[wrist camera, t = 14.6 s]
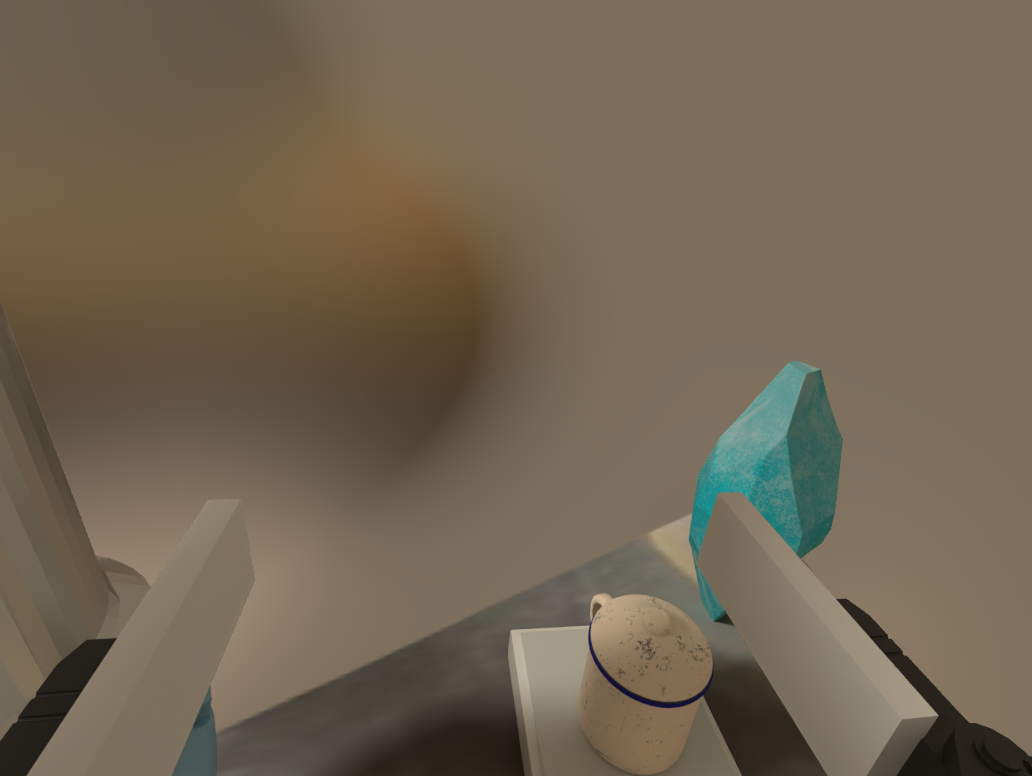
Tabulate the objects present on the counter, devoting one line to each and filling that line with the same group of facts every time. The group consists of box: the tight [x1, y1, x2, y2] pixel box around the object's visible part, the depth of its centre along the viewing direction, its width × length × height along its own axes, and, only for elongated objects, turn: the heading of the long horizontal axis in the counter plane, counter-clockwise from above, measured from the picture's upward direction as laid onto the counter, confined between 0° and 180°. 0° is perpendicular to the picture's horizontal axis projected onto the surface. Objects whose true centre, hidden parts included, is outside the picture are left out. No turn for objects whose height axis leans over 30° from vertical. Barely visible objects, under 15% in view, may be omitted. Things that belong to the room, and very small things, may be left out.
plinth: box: [508, 626, 742, 776], centre depth 43 cm, size 16×16×4 cm
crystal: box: [689, 361, 843, 621], centre depth 51 cm, size 12×14×30 cm
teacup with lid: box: [578, 593, 713, 775], centre depth 40 cm, size 12×9×12 cm
